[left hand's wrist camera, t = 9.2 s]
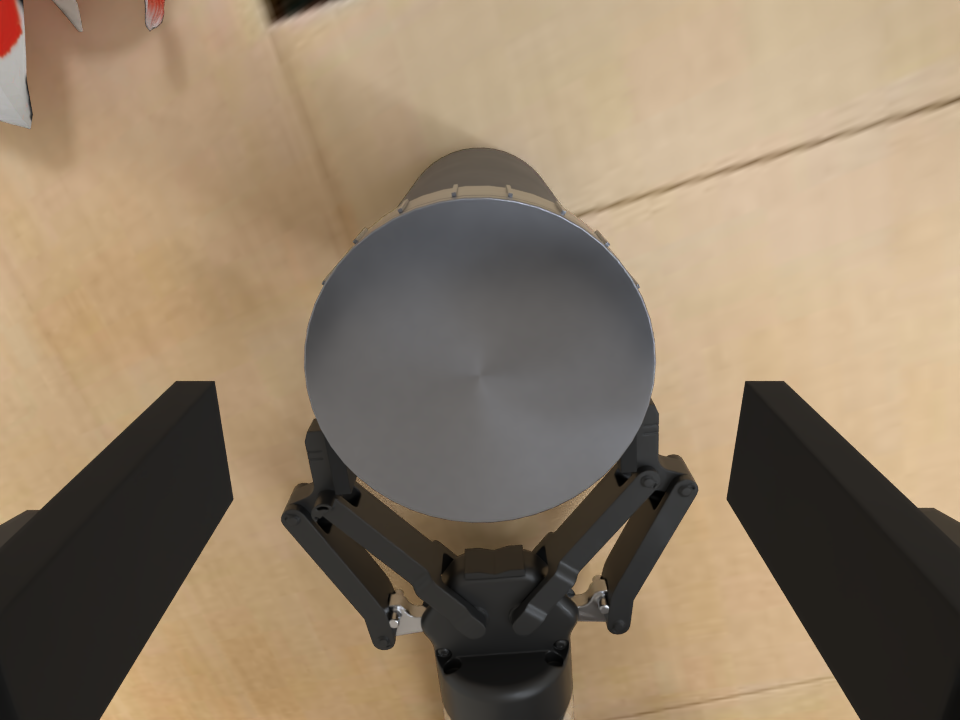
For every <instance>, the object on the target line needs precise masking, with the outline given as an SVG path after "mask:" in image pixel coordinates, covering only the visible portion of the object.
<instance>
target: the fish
mask: <svg viewBox="0 0 960 720" xmlns="http://www.w3.org/2000/svg"><path fill="white" fill-rule="evenodd" d="M52 1H53V2H54V3H55V4H56V5H57V6H58V7H59V8H60V10H61V11H62V12H63V13H64V14H65V15H66V17H67V18H68V19H69V20H70V21H71V23H72V24H73V25H74V27H75V28H76V29H77V30H78V31H81V32H82V31H83V28H82V24H81V18H80V12H79V8H78V4H77V1H76V0H52ZM164 2H165V0H145V24H146V27H147V28H148V30H149V31H151V30H152V29H154V28H157V27H158V26H159V25H160V24H161V23H162V21H163V16H164ZM32 116H33V113H32V108H31V102H30V96H29V91H28V85H27V77H26V46H25V26H24V9H23V0H0V121H2V122H6V123H10V124H13V125H17V126H21V127H25V128H28V129H31V123H32Z"/></svg>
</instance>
